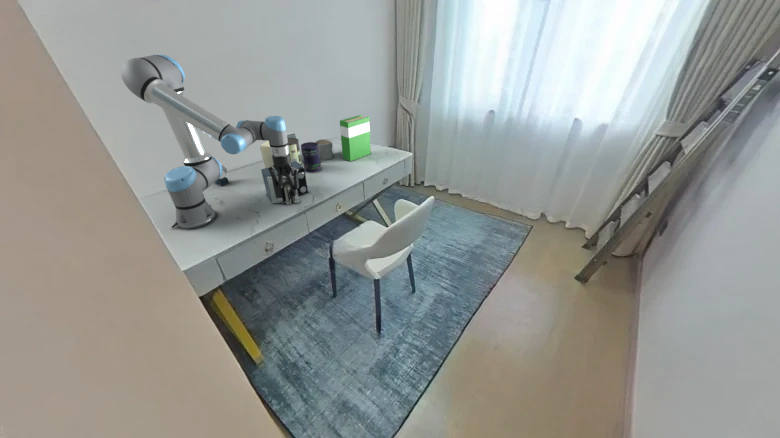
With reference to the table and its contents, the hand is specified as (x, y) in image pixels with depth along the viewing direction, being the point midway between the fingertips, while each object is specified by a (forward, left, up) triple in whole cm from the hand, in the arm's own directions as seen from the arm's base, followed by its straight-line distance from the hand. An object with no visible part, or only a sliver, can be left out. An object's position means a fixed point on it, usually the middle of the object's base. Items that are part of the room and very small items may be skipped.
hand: (289, 201), depth 148 cm
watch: (-21, +47, -4) cm, 52 cm away
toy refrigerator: (+5, +34, -4) cm, 35 cm away
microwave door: (-1, +4, -4) cm, 6 cm away
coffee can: (+21, +52, -4) cm, 56 cm away
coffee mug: (+43, +50, -4) cm, 66 cm away
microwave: (+4, +15, -4) cm, 16 cm away
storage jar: (+27, +36, -4) cm, 45 cm away
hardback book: (+59, +39, -4) cm, 71 cm away
